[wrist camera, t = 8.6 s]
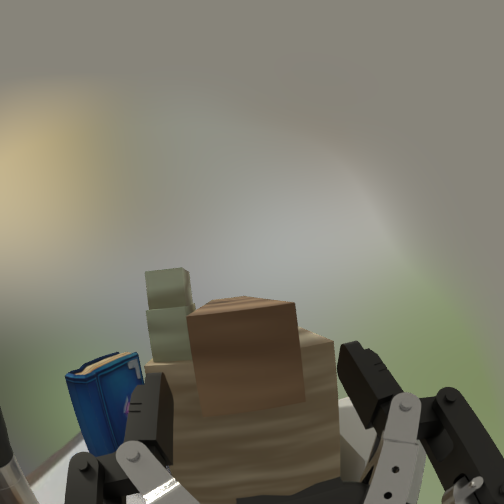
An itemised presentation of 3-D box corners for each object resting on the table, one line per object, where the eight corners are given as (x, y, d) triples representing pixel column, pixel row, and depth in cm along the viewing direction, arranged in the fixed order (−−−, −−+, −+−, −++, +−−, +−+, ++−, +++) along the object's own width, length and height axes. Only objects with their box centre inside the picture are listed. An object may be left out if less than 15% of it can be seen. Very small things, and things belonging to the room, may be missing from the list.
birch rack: (336, 568, 17) (321, 248, 21) (220, 587, 15) (131, 270, 20) (308, 511, 30) (283, 265, 35) (218, 525, 29) (167, 279, 34)
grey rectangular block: (403, 546, 17) (429, 432, 19) (353, 567, 16) (365, 460, 18) (361, 495, 31) (363, 392, 34) (320, 508, 31) (315, 405, 33)
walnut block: (305, 401, 10) (294, 302, 11) (202, 417, 10) (185, 316, 10) (248, 327, 36) (244, 296, 36) (216, 331, 35) (212, 299, 36)
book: (118, 482, 39) (84, 371, 42) (92, 474, 40) (59, 368, 43) (160, 440, 60) (140, 350, 63) (137, 437, 61) (117, 350, 64)
